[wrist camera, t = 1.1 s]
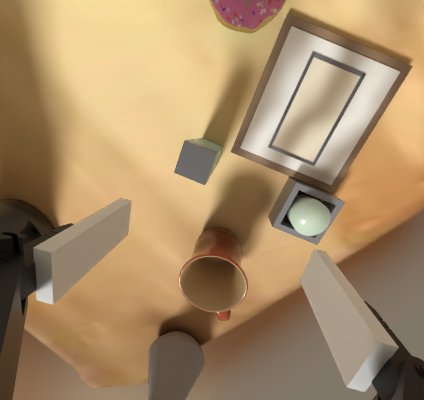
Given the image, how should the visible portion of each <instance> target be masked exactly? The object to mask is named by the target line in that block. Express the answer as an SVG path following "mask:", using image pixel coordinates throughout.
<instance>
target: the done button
mask: <svg viewBox="0 0 424 400" xmlns="http://www.w3.org/2000/svg"><path fill="white" fill-rule="evenodd" d="M286 215H287V217H288V219H289V220H290V222H291V224H292V225H293V227H294V228H295V230H296V231H297V232H298V233H300V234H302V235H306V236H314V235H317V234H320V233H321V232H323V231H324V230H325V229H326V228H327V227H328V225H329V223H330V220H331V214H330V211H329V210H328V208H327V207H326V206H325V205H323V204H322V203H321V202H320V201H319V200H317V199H316V198H315V197H313V196H311V195H307V194H302V195H298V196H296V197H295V198H294V200H293V202H292V204H291V206H290V207H289V209H288V211H287V213H286Z"/></svg>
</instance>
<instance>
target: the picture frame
mask: <svg viewBox="0 0 424 400" xmlns="http://www.w3.org/2000/svg"><path fill="white" fill-rule="evenodd" d="M412 67H413V66H411V65H408V64H406V63H404V62H401V61H399V60H396V59H394V58H392V57H389V56H387V55H385V54H382V53H380V52H378V51H375V50H373V49H370V48H368V47H366V46H363V45H361V44H359V43H356V42H354V41H351V40H349V39H347V38H344V37H342V36H340V35H337V34H335V33H332V32H330V31H328V30H325V29H323V28H321V27H318V26H316V25H313V24H311V23H309V22H306V21H304V20H302V19H299V18H297V17H294V16H292V15H290V14H287V16H286V18H285V21H284V23H283V26H282V28H281V31H280V33H279V36H278V38H277V40H276V43H275V45H274V48H273V50H272V53H271V55H270V58H269V60H268V62H267V65H266V67H265V70H264V72H263V75H262V77H261V80H260V82H259V84H258V87H257V89H256V92H255V94H254V97H253V99H252V102H251V104H250V106H249V109H248V111H247V114H246V116H245V119H244V121H243V124H242V126H241V128H240V131H239V133H238V136H237V138H236V141H235V143H234V146H233V148H232V150H231V152H232V153H235V154H237V155H239V156H242V157H244V158H247V159H249V160H252V161H254V162H256V163H259V164H261V165H264V166H266V167H269V168H271V169H274V170H276V171H278V172H281V173H283V174H286V175H288V176H291V177H293V178H296V179H298V180H300V181H303V182H305V183H308V184H310V185H313V186H315V187H318V188H320V189H322V190H325V191H327V192H330V193H332V194H333V193H334V191H335V190H336V188H337V187H338V185H339V183H340V182H341V180H342V179H343V177H344V175H345V174H346V172H347V171H348V169H349V167H350V166H351V164H352V163H353V161H354V159H355V158H356V156H357V155H358V153H359V151H360V150H361V148H362V147H363V145H364V143H365V142H366V140H367V139H368V137H369V135H370V134H371V132H372V131H373V129H374V127H375V126H376V124H377V123H378V121H379V119H380V118H381V116H382V115H383V113H384V111H385V110H386V108H387V107H388V105H389V103H390V102H391V100H392V99H393V97H394V95H395V94H396V92H397V91H398V89H399V87H400V86H401V84H402V83H403V81H404V79H405V78H406V76H407V75H408V73H409V71H410V70H411V68H412Z"/></svg>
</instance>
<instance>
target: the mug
mask: <svg viewBox="0 0 424 400" xmlns="http://www.w3.org/2000/svg"><path fill="white" fill-rule="evenodd" d="M179 287H180V290H181V292H182V294H183V296H184V297H185V298H186V300H187V301H188V302H190V303H191V304H192V305H194V306H195V307H197V308H199V309H201V310H204V311H207V312H216V314H217V316H218V319H219V320H220V321H226V320H229V319H230V312H231V310H232V309H234V308H235V307H236V306H238V305H239V304H240V303H241V302H242V301H243V299H244V298H245V296H246V293H247V289H248V283H247V278H246V275H245V273H244V271H243V269H242V268H241V247H240V244H239V241H238V239H237V237H236V236H235V235H234V233H232V232H231V231H230V230H228V229H226V228H222V227H214V228H210V229H208V230H206V231H205V232H204V233H203V234H201V235H200V236H199V239H198V240H197V242H196V245H195V249H194V251H193V255H192V258H191V259H190V260H189V261H188V262H187V263H186V264H185V265H184V266H183V268H182V270H181V272H180V275H179Z"/></svg>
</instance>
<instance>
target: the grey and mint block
mask: <svg viewBox="0 0 424 400" xmlns="http://www.w3.org/2000/svg"><path fill="white" fill-rule="evenodd" d="M222 149H223V146H220V145H218V144H215V143H213V142H210V141H208V140H206V139H203V138H199V139H192V140H185V141H184V144H183V147H182V150H181V153H180V156H179V159H178V162H177V165H176V168H175V171H174V173H176V174H179V175H181V176H184V177H186V178H189V179H191V180H194V181H196V182H198V183H201V184H203V185H205V184H206V182H207V181H208V179H209V177H210V176H211V174H212V172H213V171H214V169H215V167H216V165H217V162H218V160H219V157H220V154H221V152H222Z"/></svg>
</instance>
